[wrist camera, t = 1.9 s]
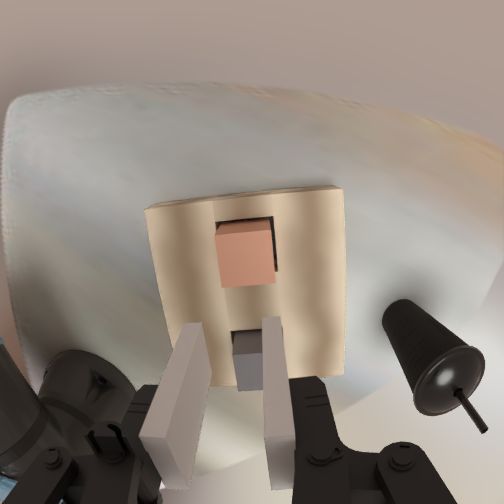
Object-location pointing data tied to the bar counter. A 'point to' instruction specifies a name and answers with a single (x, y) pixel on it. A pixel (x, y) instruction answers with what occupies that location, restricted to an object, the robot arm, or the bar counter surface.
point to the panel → (265, 295)
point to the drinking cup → (434, 361)
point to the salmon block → (245, 253)
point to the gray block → (248, 359)
